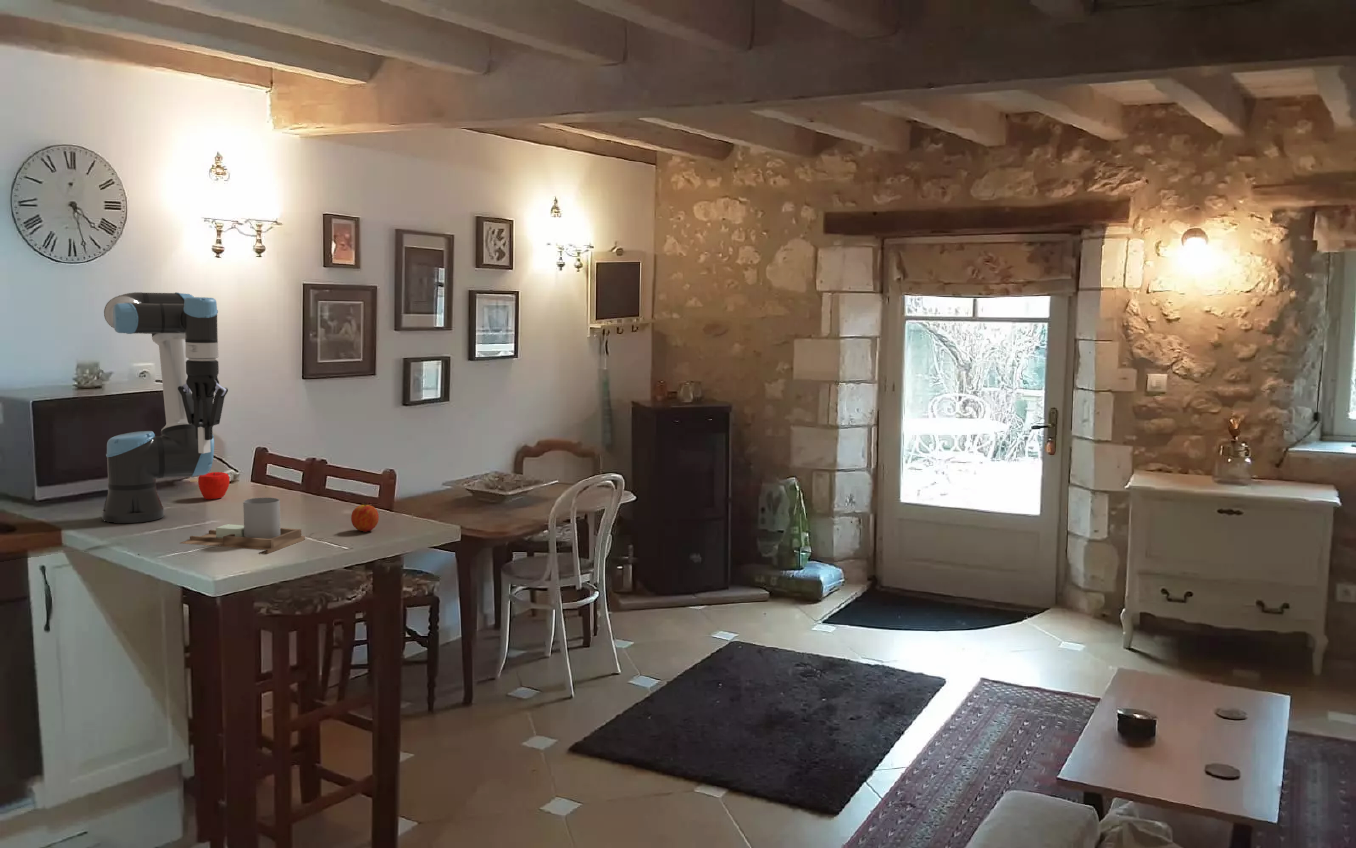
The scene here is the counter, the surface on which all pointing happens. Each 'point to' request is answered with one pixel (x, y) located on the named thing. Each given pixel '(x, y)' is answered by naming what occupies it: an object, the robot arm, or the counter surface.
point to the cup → (262, 518)
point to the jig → (250, 540)
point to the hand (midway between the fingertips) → (204, 452)
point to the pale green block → (230, 530)
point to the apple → (213, 485)
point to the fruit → (364, 517)
